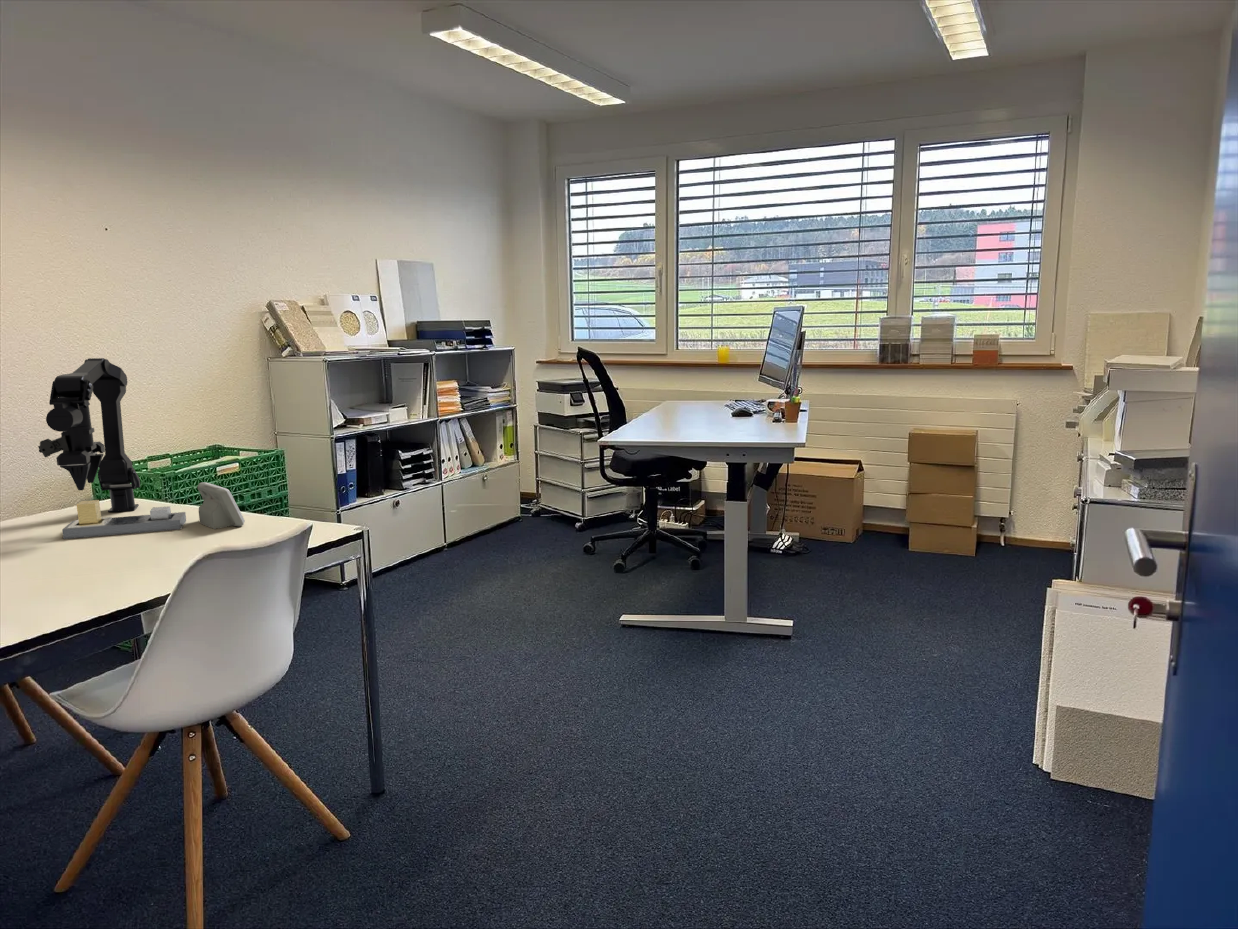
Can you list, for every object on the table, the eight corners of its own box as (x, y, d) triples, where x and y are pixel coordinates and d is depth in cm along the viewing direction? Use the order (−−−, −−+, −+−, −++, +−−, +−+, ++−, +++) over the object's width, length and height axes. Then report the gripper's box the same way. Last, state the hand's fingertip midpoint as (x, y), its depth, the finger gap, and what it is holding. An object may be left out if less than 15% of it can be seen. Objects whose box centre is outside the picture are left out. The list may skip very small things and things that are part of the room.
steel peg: (155, 526, 212) (153, 507, 211) (172, 524, 214) (170, 506, 213) (152, 529, 209) (149, 511, 208) (169, 528, 210) (167, 509, 209)
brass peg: (84, 531, 207) (80, 501, 206) (102, 530, 208) (99, 500, 207) (80, 535, 203) (76, 504, 202) (98, 534, 205) (94, 503, 203)
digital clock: (246, 527, 211) (243, 487, 209) (209, 533, 205) (204, 492, 203) (232, 515, 223) (228, 477, 221) (196, 520, 218) (192, 482, 216)
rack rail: (74, 530, 208) (72, 519, 208) (186, 520, 217) (185, 510, 216) (63, 539, 200) (62, 528, 199) (180, 529, 209) (179, 518, 208)
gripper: (51, 422, 208) (60, 481, 211) (27, 432, 190) (36, 497, 193) (101, 420, 211) (108, 478, 214) (81, 430, 194) (90, 493, 197)
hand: (86, 486), depth 205 cm, fingers open, 9 cm apart
